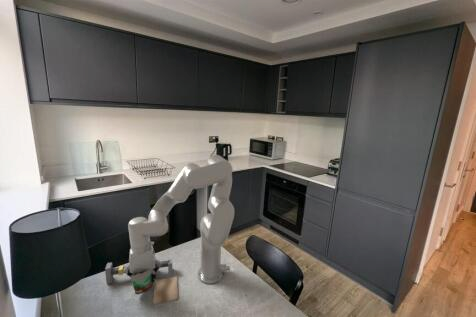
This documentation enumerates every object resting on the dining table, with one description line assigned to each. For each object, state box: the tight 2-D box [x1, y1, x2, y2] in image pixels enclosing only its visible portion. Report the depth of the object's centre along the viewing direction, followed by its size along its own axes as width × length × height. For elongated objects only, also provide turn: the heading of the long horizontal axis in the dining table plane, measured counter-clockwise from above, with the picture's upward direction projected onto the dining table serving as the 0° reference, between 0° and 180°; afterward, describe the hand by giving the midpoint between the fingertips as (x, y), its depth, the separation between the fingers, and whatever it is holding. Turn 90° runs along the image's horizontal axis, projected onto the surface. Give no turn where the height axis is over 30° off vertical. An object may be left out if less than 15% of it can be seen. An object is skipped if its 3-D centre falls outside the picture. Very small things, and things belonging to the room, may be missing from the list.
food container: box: [130, 270, 154, 295], centre depth 100 cm, size 12×6×10 cm, turn 171°
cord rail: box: [104, 258, 174, 285], centre depth 109 cm, size 29×4×8 cm, turn 107°
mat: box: [152, 276, 179, 305], centre depth 102 cm, size 10×13×1 cm
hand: (144, 281), depth 100 cm, fingers closed on food container, 6 cm apart
